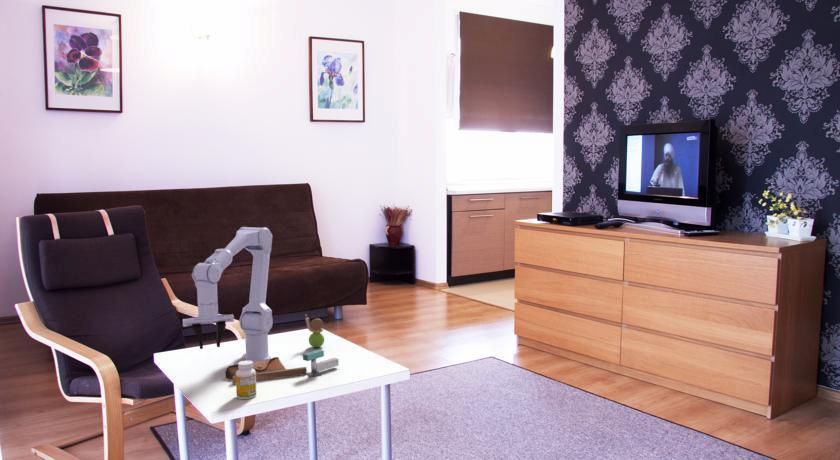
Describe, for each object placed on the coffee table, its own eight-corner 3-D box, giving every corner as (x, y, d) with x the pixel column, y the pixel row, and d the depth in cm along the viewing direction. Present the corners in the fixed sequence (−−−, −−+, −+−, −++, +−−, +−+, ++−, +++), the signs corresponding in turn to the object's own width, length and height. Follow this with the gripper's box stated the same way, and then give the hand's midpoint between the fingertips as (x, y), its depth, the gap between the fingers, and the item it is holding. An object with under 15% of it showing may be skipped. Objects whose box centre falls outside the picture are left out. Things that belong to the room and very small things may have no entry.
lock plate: (306, 373, 206) (306, 372, 206) (318, 372, 208) (318, 371, 208) (309, 377, 203) (309, 376, 203) (321, 375, 204) (321, 374, 204)
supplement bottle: (238, 393, 189) (237, 360, 188) (257, 392, 190) (256, 359, 189) (235, 400, 184) (233, 365, 183) (254, 399, 184) (253, 365, 183)
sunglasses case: (236, 383, 197) (231, 362, 200) (228, 390, 203) (223, 369, 205) (291, 371, 209) (285, 351, 211) (282, 378, 214) (277, 358, 216)
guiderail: (232, 382, 198) (232, 376, 198) (305, 373, 207) (305, 366, 207) (233, 384, 197) (233, 377, 197) (306, 374, 206) (306, 367, 206)
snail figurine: (306, 345, 238) (305, 312, 237) (324, 345, 239) (323, 312, 238) (305, 349, 233) (304, 316, 232) (324, 349, 234) (323, 315, 233)
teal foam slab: (334, 364, 213) (333, 345, 212) (338, 366, 212) (338, 346, 211) (303, 374, 204) (302, 354, 203) (308, 375, 202) (307, 355, 202)
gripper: (183, 307, 193) (185, 353, 195) (234, 303, 199) (236, 347, 200) (181, 303, 200) (183, 347, 201) (231, 298, 206) (233, 342, 207)
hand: (209, 347), depth 201 cm, fingers open, 4 cm apart
